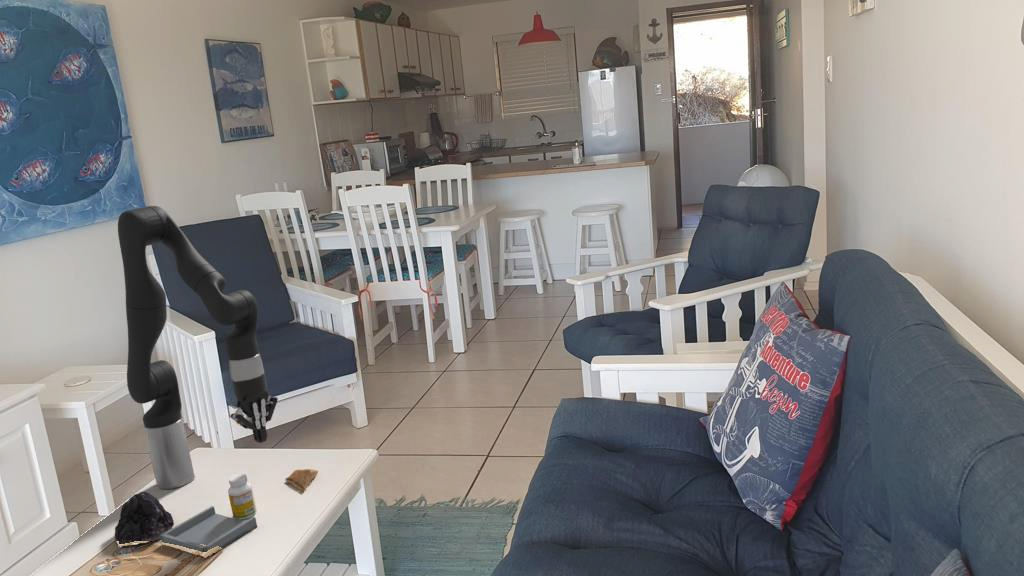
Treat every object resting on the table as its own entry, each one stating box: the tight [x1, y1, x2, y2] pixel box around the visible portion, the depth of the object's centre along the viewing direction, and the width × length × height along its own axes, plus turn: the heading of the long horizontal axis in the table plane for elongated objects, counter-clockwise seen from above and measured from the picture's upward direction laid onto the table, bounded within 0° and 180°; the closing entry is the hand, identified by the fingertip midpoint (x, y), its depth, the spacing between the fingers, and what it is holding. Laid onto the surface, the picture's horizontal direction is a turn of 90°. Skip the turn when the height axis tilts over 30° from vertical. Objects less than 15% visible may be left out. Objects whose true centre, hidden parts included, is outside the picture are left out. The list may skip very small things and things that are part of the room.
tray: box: [160, 505, 258, 552], centre depth 180 cm, size 16×14×2 cm
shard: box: [284, 468, 319, 492], centre depth 202 cm, size 11×8×2 cm
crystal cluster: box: [114, 490, 175, 544], centre depth 184 cm, size 13×14×10 cm
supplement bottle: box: [227, 473, 258, 521], centre depth 187 cm, size 5×5×10 cm
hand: (261, 441), depth 192 cm, fingers closed
